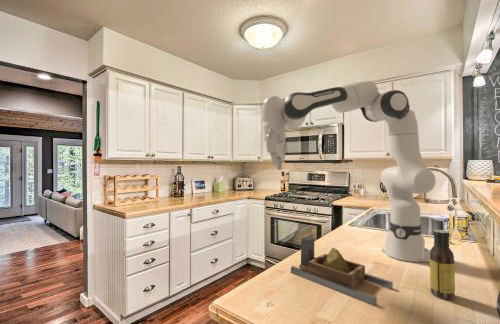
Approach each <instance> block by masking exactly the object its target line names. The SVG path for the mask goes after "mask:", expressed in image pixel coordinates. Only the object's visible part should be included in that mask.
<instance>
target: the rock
mask: <svg viewBox="0 0 500 324" xmlns="http://www.w3.org/2000/svg"><path fill="white" fill-rule="evenodd" d="M345 260H346V259H345V258H344V257H343V256H342V254H341V252H340V251H339V250H337V249H336V248H335V247H332V248H331V249H330V250H329V252H328V254H327V257H326V259H325V261H324V263H323V264H322V265H324V266H327V267H330V268H333V269H336V270H339V271H342V272H345V273H350V269H349V267H348V265H347V263H346V261H345Z"/></svg>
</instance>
